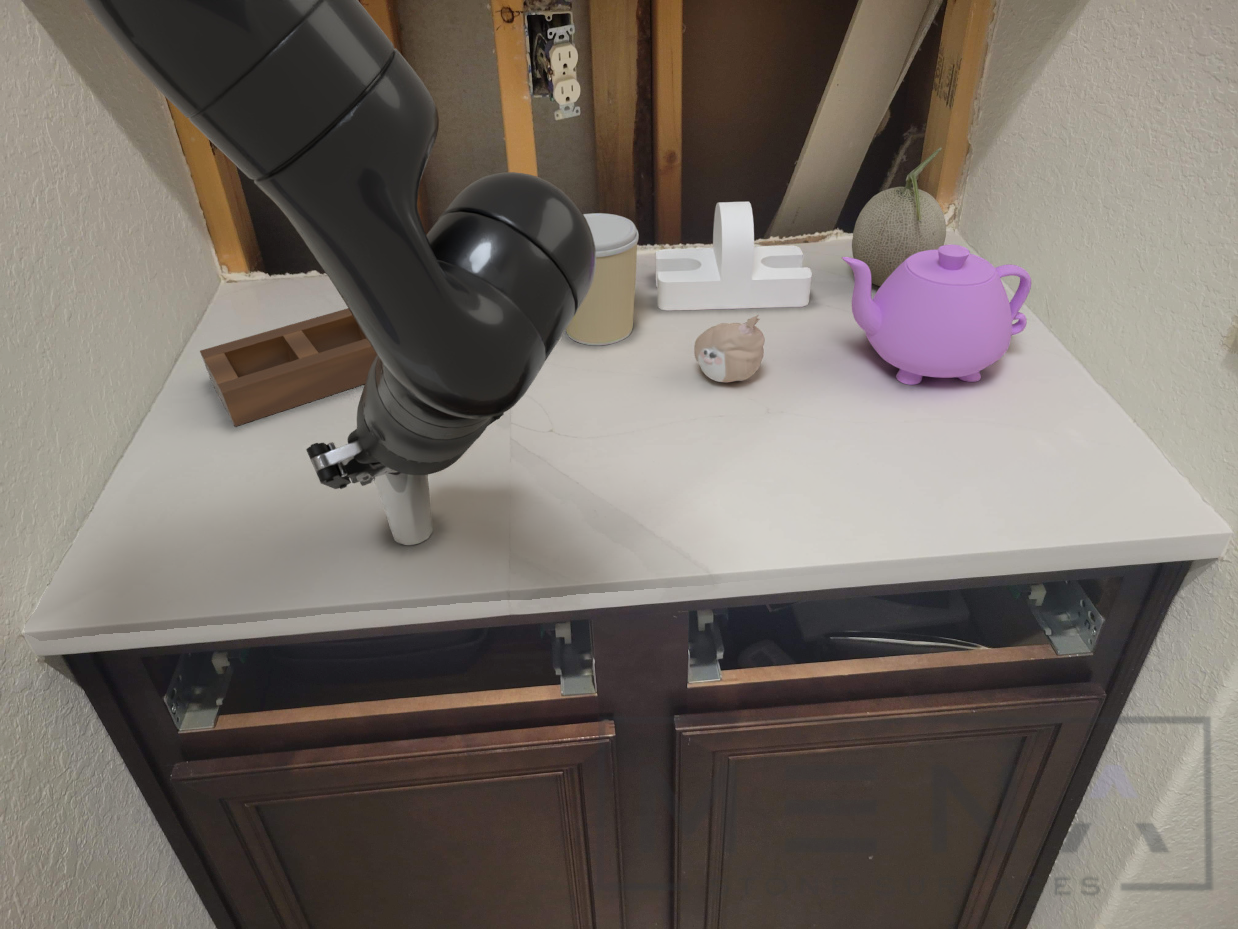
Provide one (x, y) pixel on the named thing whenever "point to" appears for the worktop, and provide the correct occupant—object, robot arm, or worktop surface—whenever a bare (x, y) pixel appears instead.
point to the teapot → (940, 313)
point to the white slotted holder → (732, 269)
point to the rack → (289, 366)
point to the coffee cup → (608, 283)
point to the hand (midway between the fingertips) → (392, 460)
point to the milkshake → (406, 506)
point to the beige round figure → (730, 350)
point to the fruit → (898, 227)
